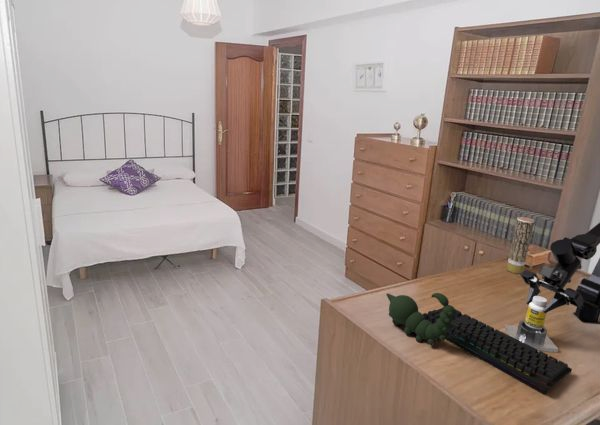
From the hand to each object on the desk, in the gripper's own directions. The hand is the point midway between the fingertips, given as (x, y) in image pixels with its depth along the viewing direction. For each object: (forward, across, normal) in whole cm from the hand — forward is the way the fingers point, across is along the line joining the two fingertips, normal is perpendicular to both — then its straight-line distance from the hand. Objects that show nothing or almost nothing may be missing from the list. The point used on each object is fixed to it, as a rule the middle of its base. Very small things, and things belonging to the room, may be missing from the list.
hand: (535, 308), depth 137 cm
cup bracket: (+8, 0, +9) cm, 12 cm away
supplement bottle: (+4, 0, +6) cm, 7 cm away
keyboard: (+20, -3, -3) cm, 21 cm away
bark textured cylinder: (-25, -39, +43) cm, 63 cm away
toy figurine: (+32, -19, -15) cm, 40 cm away
